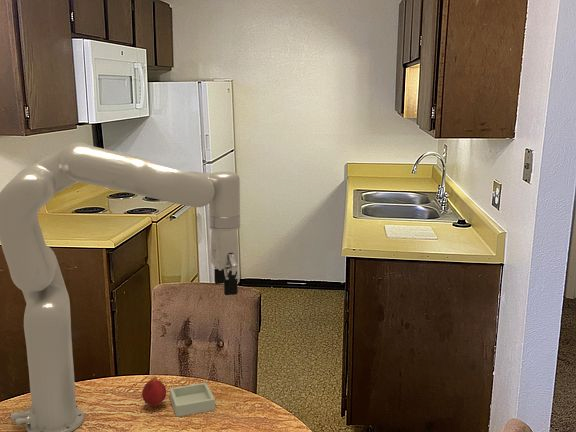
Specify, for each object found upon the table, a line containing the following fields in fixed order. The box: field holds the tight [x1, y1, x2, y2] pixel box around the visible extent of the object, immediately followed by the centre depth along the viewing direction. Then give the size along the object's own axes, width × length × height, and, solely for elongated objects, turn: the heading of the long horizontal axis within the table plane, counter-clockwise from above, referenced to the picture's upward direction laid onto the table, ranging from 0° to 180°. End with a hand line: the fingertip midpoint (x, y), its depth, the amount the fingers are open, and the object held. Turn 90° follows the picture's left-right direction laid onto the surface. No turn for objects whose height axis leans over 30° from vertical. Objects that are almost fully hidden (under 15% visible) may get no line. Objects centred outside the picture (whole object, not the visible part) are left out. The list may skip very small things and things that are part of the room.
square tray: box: [169, 382, 216, 418], centre depth 142 cm, size 10×10×3 cm
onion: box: [141, 376, 167, 408], centre depth 141 cm, size 6×6×8 cm
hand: (225, 288), depth 143 cm, fingers open, 9 cm apart
